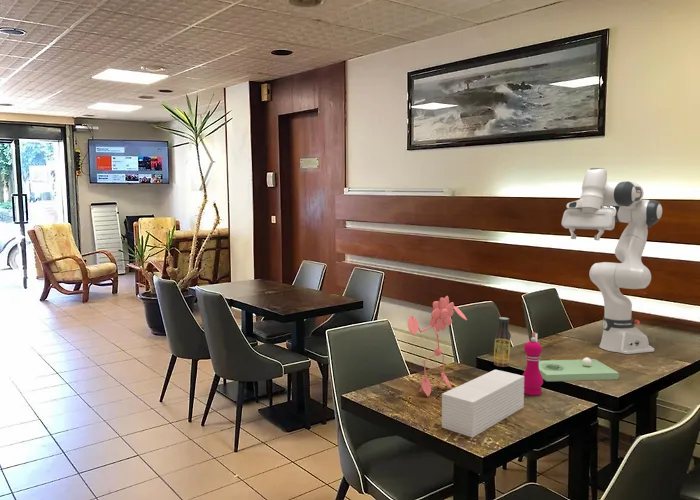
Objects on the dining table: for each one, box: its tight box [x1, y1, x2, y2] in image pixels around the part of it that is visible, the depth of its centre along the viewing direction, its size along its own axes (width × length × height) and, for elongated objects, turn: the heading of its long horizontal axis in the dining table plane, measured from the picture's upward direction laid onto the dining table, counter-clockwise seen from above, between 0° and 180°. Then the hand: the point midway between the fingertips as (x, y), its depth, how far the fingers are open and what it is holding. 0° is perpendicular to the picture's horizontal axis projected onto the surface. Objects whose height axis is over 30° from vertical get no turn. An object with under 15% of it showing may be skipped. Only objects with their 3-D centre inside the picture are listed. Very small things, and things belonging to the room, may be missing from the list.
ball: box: [581, 356, 592, 366], centre depth 221 cm, size 4×4×4 cm
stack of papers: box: [441, 369, 525, 439], centre depth 178 cm, size 32×11×11 cm, turn 137°
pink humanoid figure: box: [406, 295, 468, 398], centre depth 196 cm, size 15×26×35 cm, turn 128°
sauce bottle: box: [493, 316, 512, 368], centre depth 230 cm, size 6×6×20 cm
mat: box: [531, 331, 620, 382], centre depth 221 cm, size 28×20×14 cm
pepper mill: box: [522, 336, 544, 396], centre depth 198 cm, size 7×7×20 cm
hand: (584, 239), depth 224 cm, fingers open, 8 cm apart
